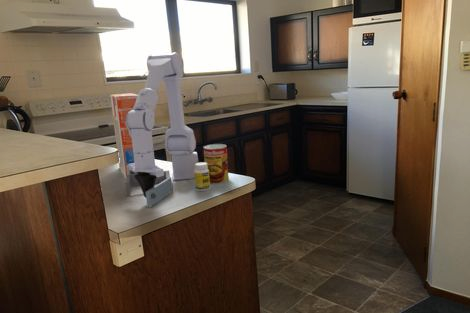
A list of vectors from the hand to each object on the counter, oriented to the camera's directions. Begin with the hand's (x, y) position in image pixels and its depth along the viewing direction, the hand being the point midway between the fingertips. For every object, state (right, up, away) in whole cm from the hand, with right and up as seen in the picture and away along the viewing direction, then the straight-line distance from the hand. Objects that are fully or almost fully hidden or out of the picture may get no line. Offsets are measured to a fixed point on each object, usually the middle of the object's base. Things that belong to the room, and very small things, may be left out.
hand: (148, 196), depth 111 cm
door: (+3, -1, +3) cm, 4 cm away
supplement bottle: (+15, +1, +11) cm, 18 cm away
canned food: (+19, +3, +19) cm, 28 cm away
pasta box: (-14, +5, +37) cm, 40 cm away
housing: (-3, +1, +13) cm, 13 cm away
